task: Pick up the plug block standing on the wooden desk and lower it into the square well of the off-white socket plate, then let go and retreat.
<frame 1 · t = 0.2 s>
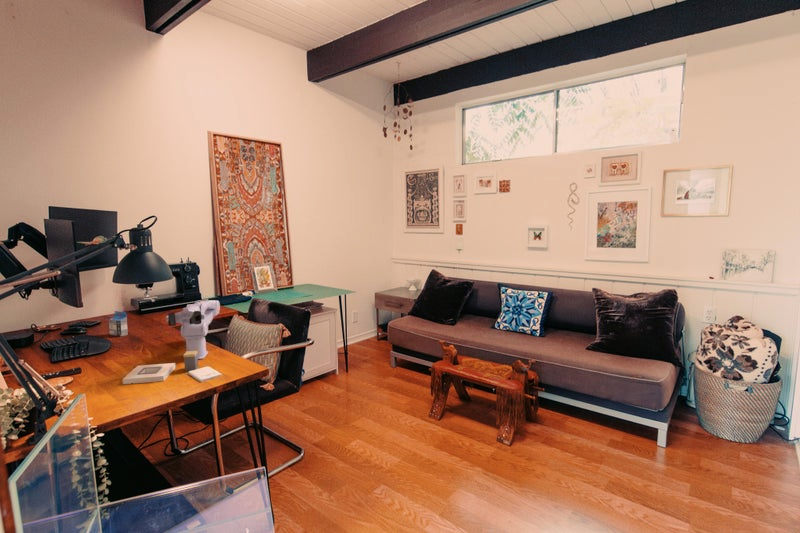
hand: (180, 322, 160), 21 cm above the table, tool horizontal, fingers open, 7 cm apart
socket: (150, 375, 161), on the table
plug: (191, 368, 168), on the table
external hard drive: (205, 376, 161), on the table
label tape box: (119, 335, 215), on the table
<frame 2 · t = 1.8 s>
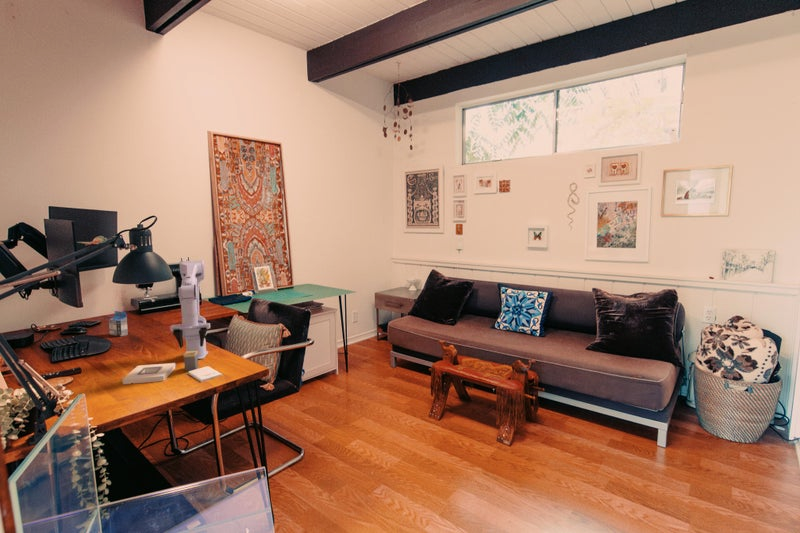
hand: (191, 346, 167), 9 cm above the table, tool pointing down, fingers open, 7 cm apart
nothing on the table moved.
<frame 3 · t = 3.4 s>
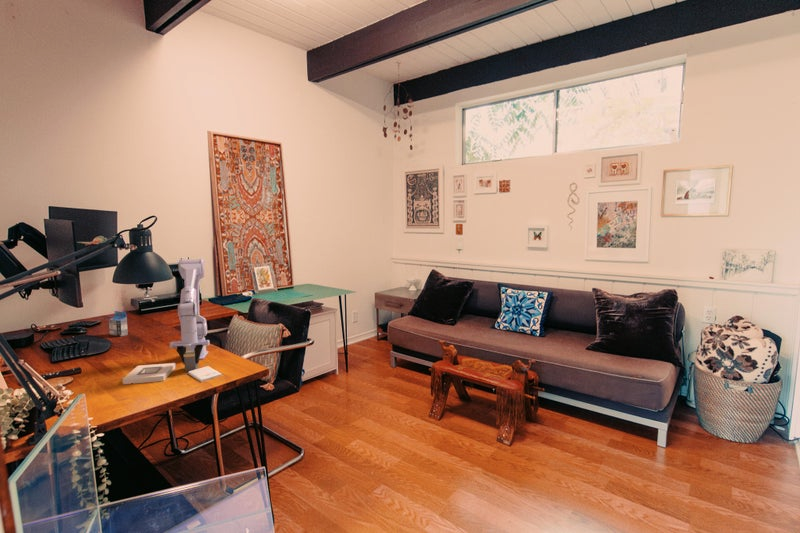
hand: (191, 363, 167), 2 cm above the table, tool pointing down, fingers closed on plug, 4 cm apart
plug: (191, 368, 168), on the table, touching gripper
everything else where it was.
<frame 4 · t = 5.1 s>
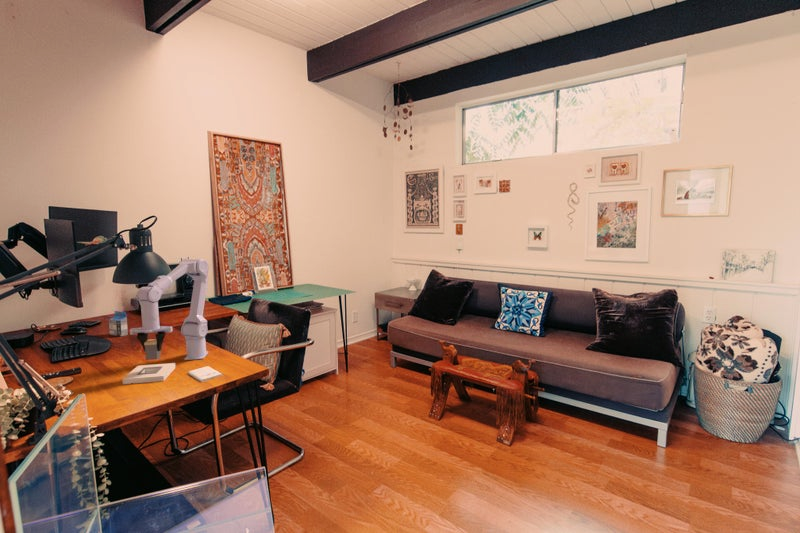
hand: (153, 350, 160), 10 cm above the table, tool pointing down, fingers closed on plug, 4 cm apart
plug: (153, 357, 160), point 7 cm above the table, touching gripper
everything else where it was.
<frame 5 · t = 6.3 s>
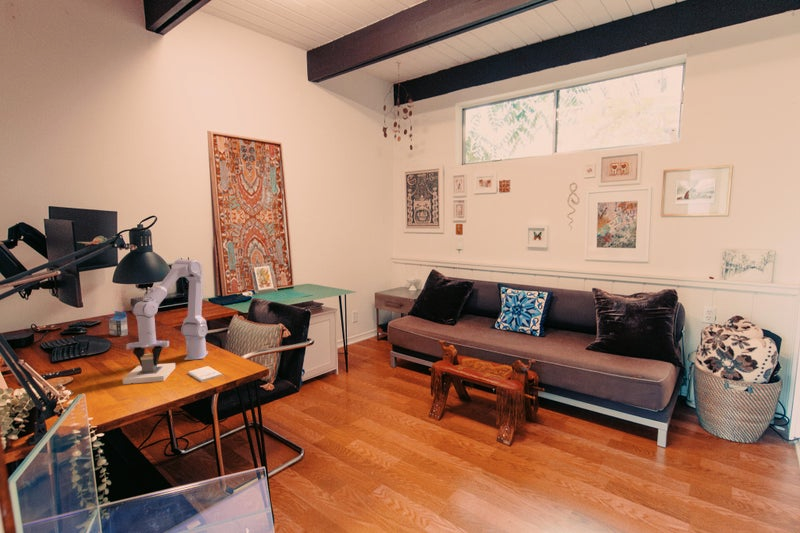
hand: (149, 365, 160), 4 cm above the table, tool pointing down, fingers closed on plug, 4 cm apart
plug: (150, 372, 160), point 1 cm above the table, touching gripper
everything else where it was.
when the fingers open (4 cm above the table, at t = 7.3 s): plug stays where it is, resting in socket.
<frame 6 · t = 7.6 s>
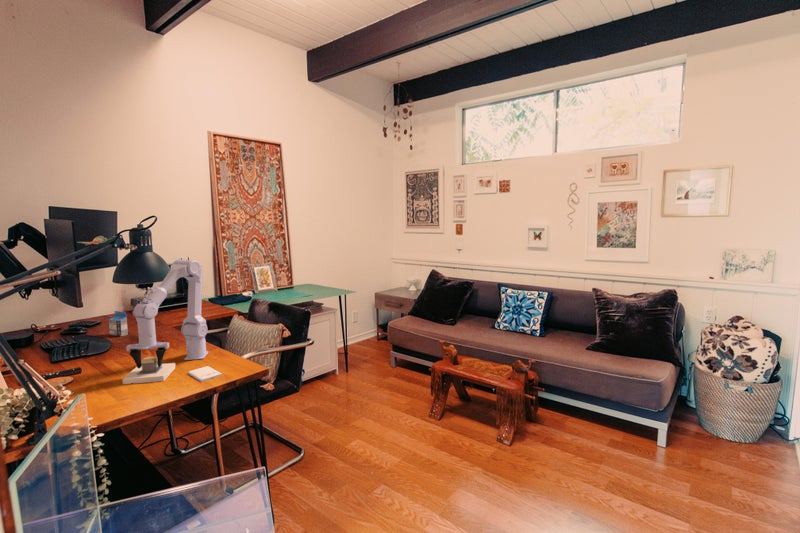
hand: (149, 366, 160), 4 cm above the table, tool pointing down, fingers open, 7 cm apart
plug: (150, 375, 160), resting in socket
everything else where it was.
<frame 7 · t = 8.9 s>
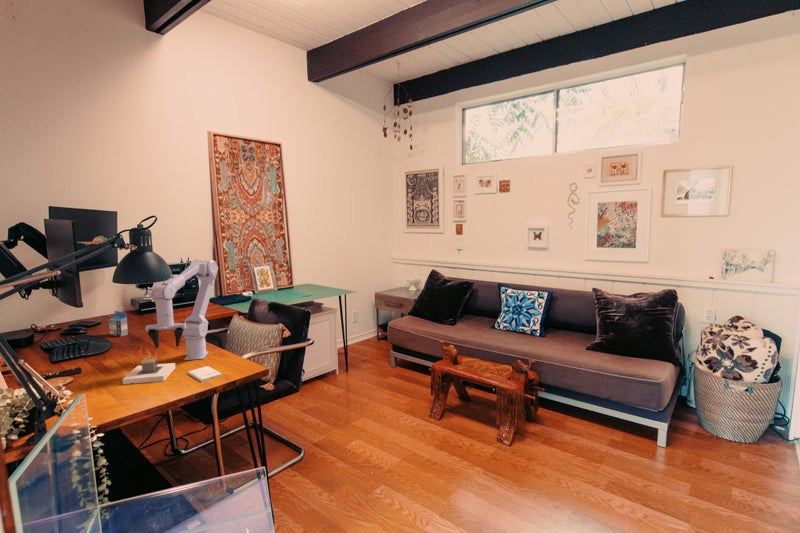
hand: (167, 346, 166), 10 cm above the table, tool pointing down, fingers open, 7 cm apart
nothing on the table moved.
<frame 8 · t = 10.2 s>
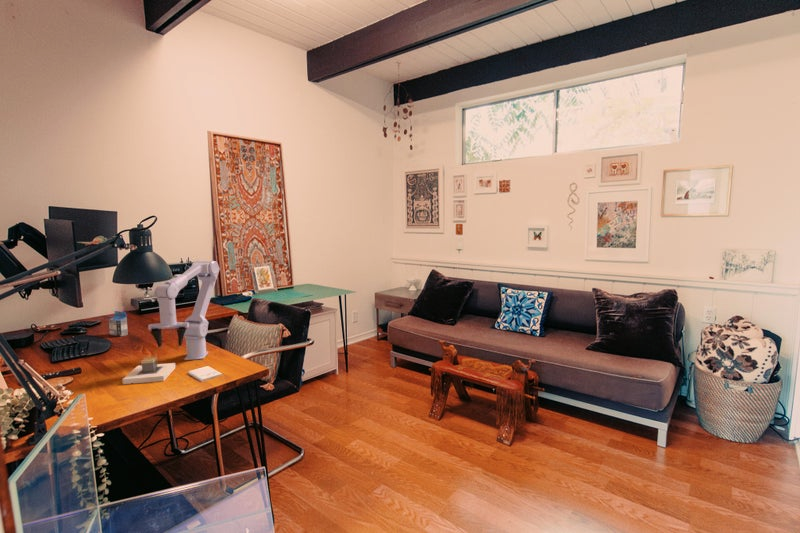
hand: (170, 345, 166), 10 cm above the table, tool pointing down, fingers open, 7 cm apart
nothing on the table moved.
at the end: plug 0.2 cm off-centre on the socket, point 0.0 cm above the socket's base; plug tilted 0°; the gripper is holding nothing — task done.
